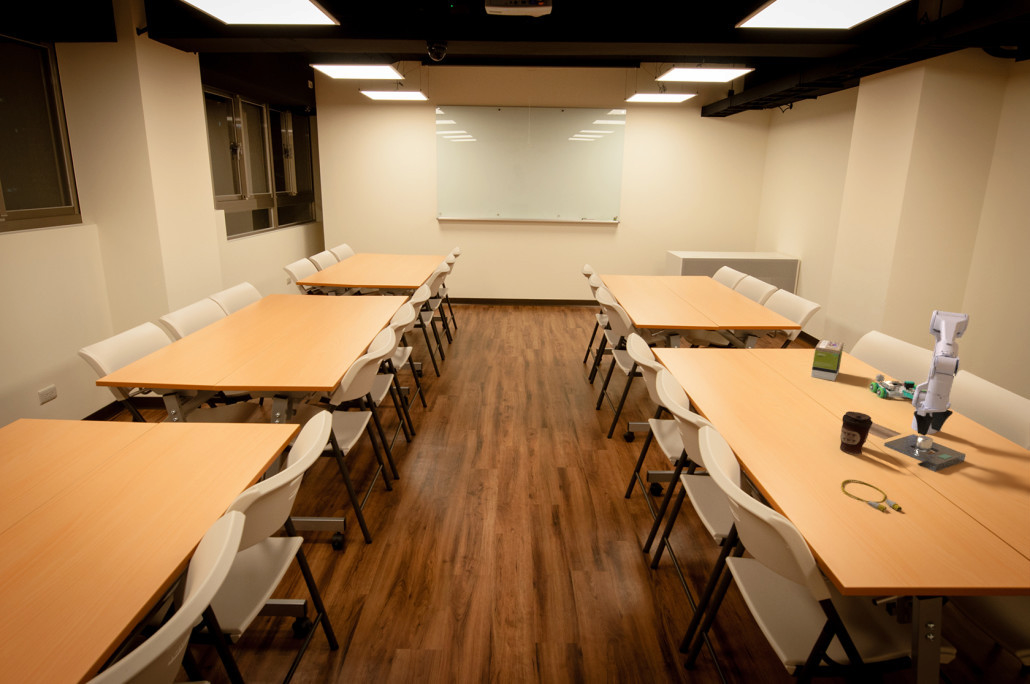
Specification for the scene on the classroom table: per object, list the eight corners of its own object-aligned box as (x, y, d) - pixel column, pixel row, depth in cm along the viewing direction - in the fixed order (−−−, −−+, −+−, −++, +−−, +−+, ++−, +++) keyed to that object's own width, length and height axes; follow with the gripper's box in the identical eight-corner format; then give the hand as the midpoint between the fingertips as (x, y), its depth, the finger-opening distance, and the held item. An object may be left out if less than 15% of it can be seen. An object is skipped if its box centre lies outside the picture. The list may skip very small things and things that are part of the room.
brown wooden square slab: (872, 426, 203) (873, 422, 202) (900, 437, 194) (901, 433, 194) (855, 431, 199) (855, 427, 198) (883, 443, 190) (884, 439, 190)
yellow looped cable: (854, 510, 152) (855, 504, 151) (833, 481, 166) (835, 475, 166) (903, 515, 150) (905, 509, 149) (878, 485, 164) (879, 479, 164)
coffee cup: (854, 459, 179) (862, 422, 175) (830, 448, 186) (837, 412, 182) (870, 453, 182) (878, 417, 179) (846, 443, 190) (853, 408, 186)
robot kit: (894, 410, 218) (899, 388, 216) (864, 387, 242) (868, 367, 239) (945, 413, 216) (951, 391, 213) (910, 390, 240) (914, 370, 237)
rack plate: (911, 440, 192) (913, 433, 191) (963, 461, 178) (965, 454, 178) (883, 449, 185) (884, 442, 185) (935, 471, 172) (937, 464, 171)
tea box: (815, 368, 265) (820, 338, 261) (839, 372, 260) (844, 342, 256) (810, 376, 254) (815, 346, 250) (834, 381, 248) (840, 350, 244)
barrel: (919, 451, 185) (922, 434, 183) (931, 456, 181) (935, 439, 179) (911, 453, 183) (915, 436, 181) (924, 458, 180) (928, 442, 178)
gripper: (937, 385, 182) (928, 423, 186) (911, 392, 176) (902, 431, 180) (961, 392, 176) (951, 431, 180) (935, 400, 170) (925, 440, 174)
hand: (928, 432), depth 179 cm, fingers open, 7 cm apart
